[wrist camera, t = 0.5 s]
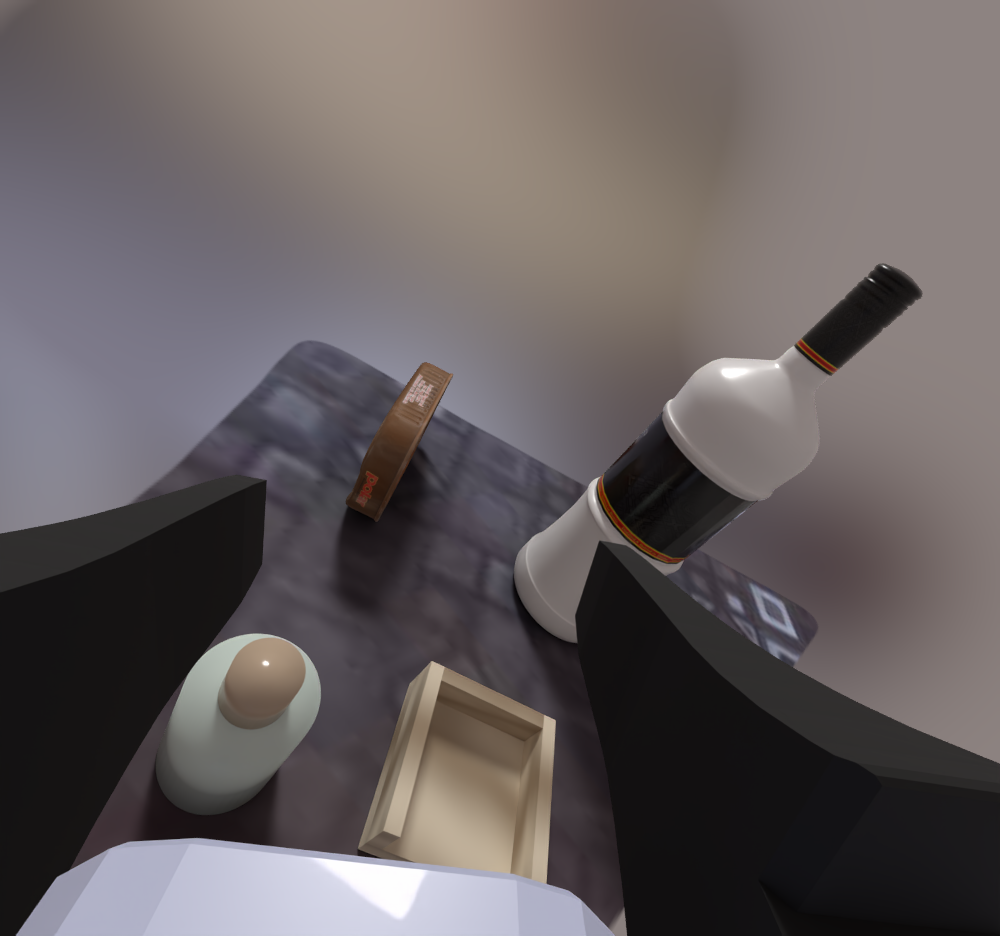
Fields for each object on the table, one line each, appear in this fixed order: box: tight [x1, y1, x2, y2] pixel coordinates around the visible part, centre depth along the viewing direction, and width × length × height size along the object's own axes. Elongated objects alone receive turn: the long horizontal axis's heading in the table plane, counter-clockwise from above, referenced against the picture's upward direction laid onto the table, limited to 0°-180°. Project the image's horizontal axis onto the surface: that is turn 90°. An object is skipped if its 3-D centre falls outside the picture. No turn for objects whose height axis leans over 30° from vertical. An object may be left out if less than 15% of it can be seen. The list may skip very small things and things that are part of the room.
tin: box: [346, 362, 453, 522], centre depth 39 cm, size 15×3×8 cm, turn 171°
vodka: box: [514, 264, 922, 643], centre depth 34 cm, size 9×9×30 cm
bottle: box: [156, 634, 321, 815], centre depth 21 cm, size 5×5×8 cm
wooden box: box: [358, 661, 556, 884], centre depth 27 cm, size 8×8×3 cm
